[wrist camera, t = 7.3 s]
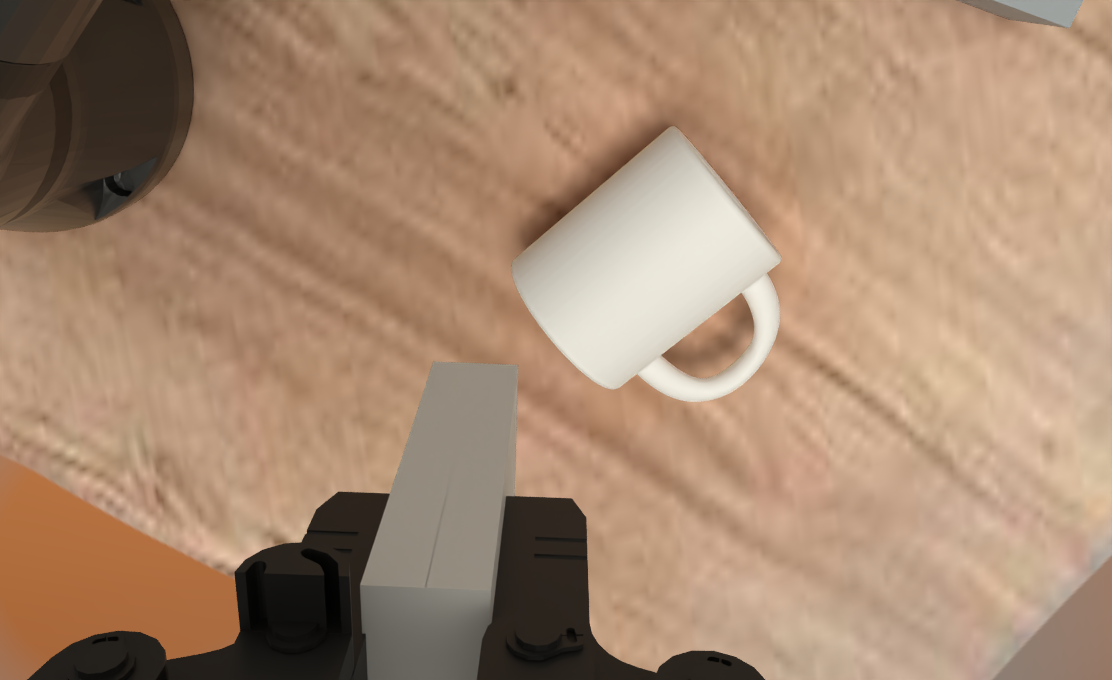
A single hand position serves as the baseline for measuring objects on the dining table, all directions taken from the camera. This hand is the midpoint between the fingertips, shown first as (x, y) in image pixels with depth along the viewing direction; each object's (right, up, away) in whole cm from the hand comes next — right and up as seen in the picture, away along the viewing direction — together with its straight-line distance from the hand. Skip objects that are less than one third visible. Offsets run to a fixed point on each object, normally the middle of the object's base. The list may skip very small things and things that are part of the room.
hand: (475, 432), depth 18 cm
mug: (+7, +6, +33) cm, 34 cm away
